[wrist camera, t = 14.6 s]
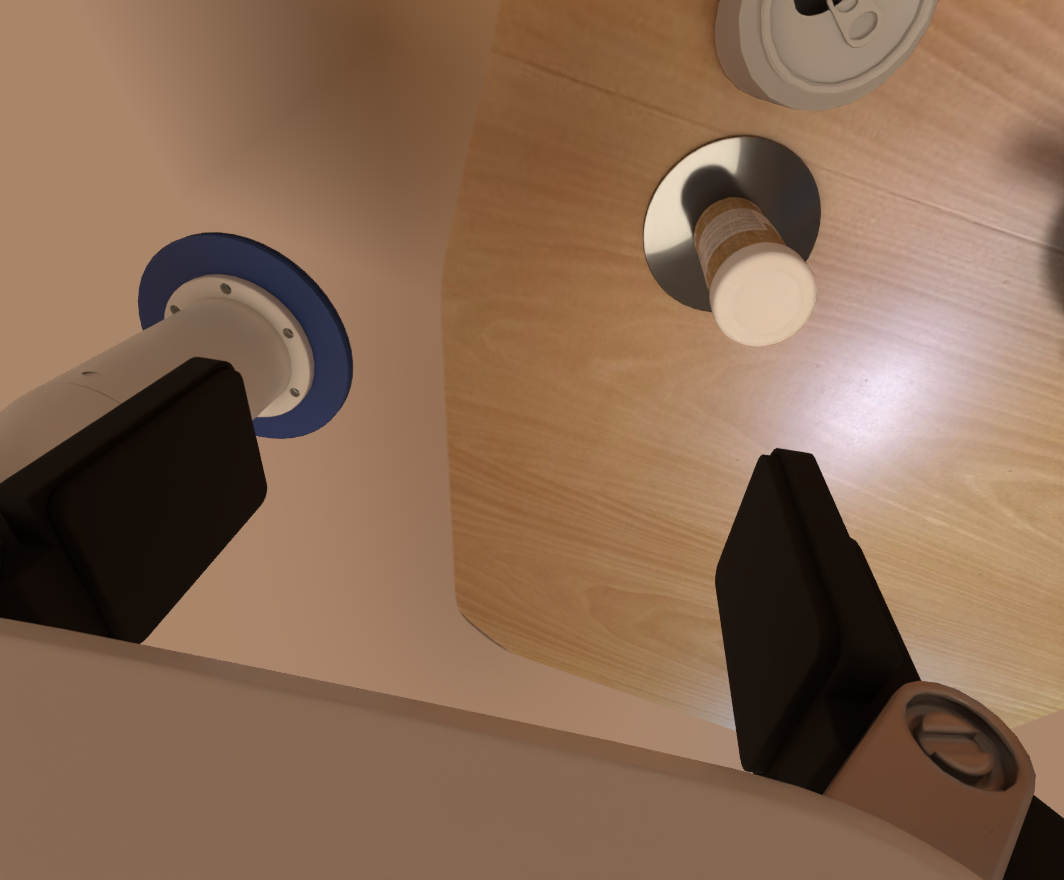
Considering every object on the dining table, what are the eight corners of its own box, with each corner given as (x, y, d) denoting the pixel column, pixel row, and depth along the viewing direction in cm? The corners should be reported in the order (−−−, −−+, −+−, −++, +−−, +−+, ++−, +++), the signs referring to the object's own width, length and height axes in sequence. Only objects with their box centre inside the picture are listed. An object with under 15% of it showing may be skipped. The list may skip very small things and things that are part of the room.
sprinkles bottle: (768, 257, 38) (821, 338, 26) (697, 274, 39) (719, 358, 28) (761, 185, 35) (817, 241, 24) (686, 205, 37) (706, 267, 26)
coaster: (666, 329, 42) (666, 331, 41) (622, 176, 37) (622, 178, 36) (829, 280, 38) (831, 283, 38) (805, 104, 33) (807, 104, 33)
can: (815, -113, 28) (910, -208, 18) (885, 24, 31) (1001, 6, 21) (685, 14, 32) (706, -8, 22) (757, 129, 34) (805, 155, 24)
